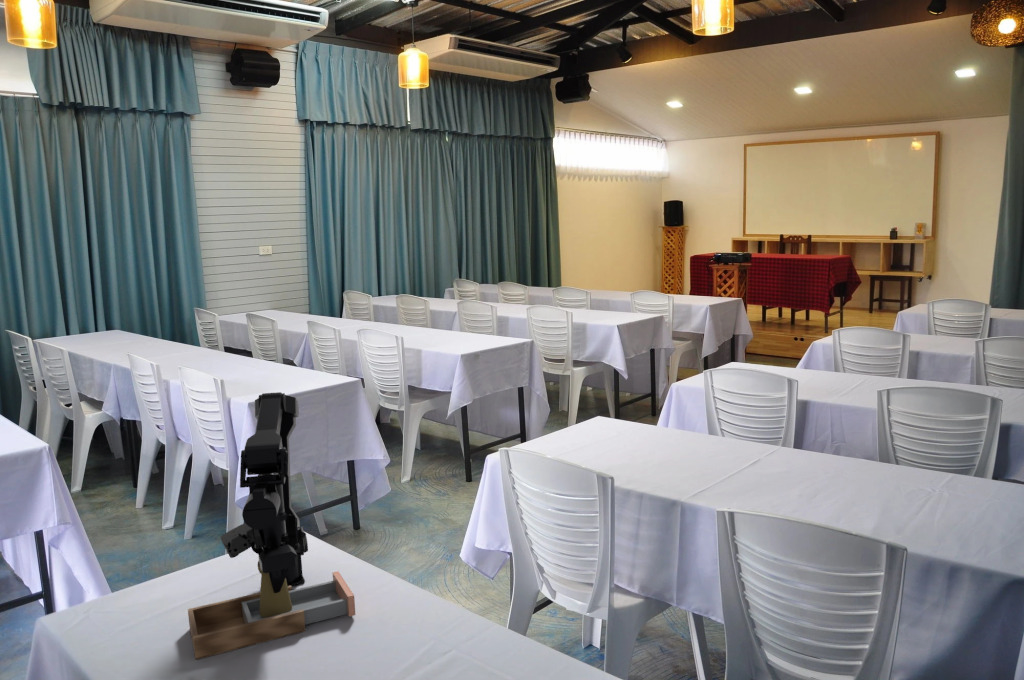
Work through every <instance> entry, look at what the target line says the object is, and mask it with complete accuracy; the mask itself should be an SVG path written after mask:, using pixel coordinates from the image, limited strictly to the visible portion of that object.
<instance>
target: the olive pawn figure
mask: <svg viewBox="0 0 1024 680" xmlns="http://www.w3.org/2000/svg"><path fill="white" fill-rule="evenodd" d="M258 562H259V560H258V561H257V569H258V570H257V571H258V573H259V574H260V575H261V577H260V591H259V593H260V608H259V614H260V615H261V616H262V617H265V618H268V617H272V616H276V615H280V614H284V613H288V612H290V611H291V610H292V603H291V599H290V595H289V590H288V586H287V581H286V578H285V581H284V583H283V586H282V588H281V591H280V592H278V593H274V591H273V588H272V585H271V581H270V578H269V574H268V573H263V572H262V570H261V568H260V566H259V564H258Z"/></svg>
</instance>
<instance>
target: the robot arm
mask: <svg viewBox="0 0 1024 680" xmlns="http://www.w3.org/2000/svg"><path fill="white" fill-rule="evenodd" d="M254 417H255V418H256V420H257V421H256V426H255V433H254V434H253V435H251V436H250V437H248V438H247V439H246V442H245V444H244V449H242V450H241V451H240V470H239V471H240V472H239V475H240V477H239V488H242V489H243V488H249V492H248V493H249V494H248V496H247V499H246V502H245V503H244V506H243V508H242V509H243V510H242V513H241V514H242V515H241V516H242V520H243V522H244V523H242V524H240V525H237V526H236V527H234V528H232V529H231V530H229V531H227V532H225V533H223V534H222V535H221V536H220V540H221V542H222V546H223V547H224V549H225V551H226V552H227V554H228V556H229V558H231V559H233V558H236V557H238V556H239V555H240V554H241V553H243V552H246V551H248V550H249V549H250V548H251V549H252V551H253V552H254V553H255V554H256V555H258V561H259V562H258V561H257V565H258V564H259V566H260V568H261V570H262V572H263V573H268V574H269V578H270V581H271V585H272V588H273V591H274V593H278V592H280V591H281V588H282V586H283V583H284V581H285V578H286V581H287V586H290V585H291V586H295V585H300V584H304V583H305V582H306V580H305V578H304V576H303V563H302V556H304V555H305V554H306V552H309V545H308V537H307V533H306V532H305V531H304V528H303V526H300V525H301V524H300V517H299V516H298V515H297V514H296V512H295V510H294V509H293V508H292V491H291V487H292V486H291V463H290V462H291V461H290V438H291V436H292V434H293V432H294V430H295V428H296V426H297V418H299V403H298V400H297V398H296V397H294V396H290V395H286V394H285V393H282V392H281V391H280V392H278V391H277V392H265V393H263V392H262V394H259V395H258V398H257V399H255V400H254ZM247 475H248V476H247Z"/></svg>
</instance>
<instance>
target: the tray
mask: <svg viewBox="0 0 1024 680" xmlns="http://www.w3.org/2000/svg"><path fill="white" fill-rule="evenodd" d="M331 574H332V580H330V581H326V582H321V583H318V584H317V583H316V584H314V585H308V586H306V587H304V586H303V587H300V588H297V589H292V590H291V591H289V595H290V599H291V603H292V610H291V611H290V612H294V611H298V610H302V609H303V610H304V619H305V625H309V624H312V623H317V622H321V621H325V620H329V619H332V618H336V617H340V616H344V615H348V617H352V616H356V605H355V604H356V603H355V601H356V600H355V595H354V593H353V592H352V590H351V588H350V587H349V585H348V583H347V582H346V580H345V579H344V577H343V576H342V574H341V573H340V572H339V570H338V571H334V572H332V573H331ZM241 603H242V614H243V618H244V621H245V624H246V623H250V622H254V621H258V620H262V619H266V618H265V617H262V616H261V615H260V614H259V608H260V598H257V599H253V600H248V601H244V602H241ZM290 612H288V613H290ZM284 614H286V613H284ZM280 615H282V614H280ZM276 616H278V615H276ZM272 617H274V616H272ZM268 618H270V617H268Z"/></svg>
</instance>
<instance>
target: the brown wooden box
mask: <svg viewBox="0 0 1024 680" xmlns="http://www.w3.org/2000/svg"><path fill="white" fill-rule="evenodd" d="M292 586H293V585H292ZM292 586H291V585H290V586H288V590H289V591H291V590H293V587H292ZM257 598H260V592H257V593H253V594H252V593H251V594H247V595H243V596H238V597H235V598H231V599H227V600H226V599H225V600H221V601H217V602H213V603H208V604H205V605H201V606H195V607H192V608H191V607H190V608H187V614H188V624H189V625H188V627H189V633H190V637H191V643H192V648H193V653H194V656H195V660H197V661H198V660H200V659H204V658H208V657H211V656H215V655H219V654H220V655H221V654H224V653H227V652H231V651H235V650H238V649H243V648H247V647H251V646H254V645H257V644H258V645H259V644H262V643H265V642H269V641H273V640H276V639H282V638H284V637H285V638H286V637H289V636H293V635H297V634H300V633H305V632H306V624H305V619H304V610H303V609H302V610H298V611H294V612H290V613H286V614H282V615H278V616H274V617H270V618H266V619H262V620H258V621H254V622H250V623H246V624H245V621H244V618H243V614H242V603H241V602H244V601H248V600H253V599H257Z"/></svg>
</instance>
